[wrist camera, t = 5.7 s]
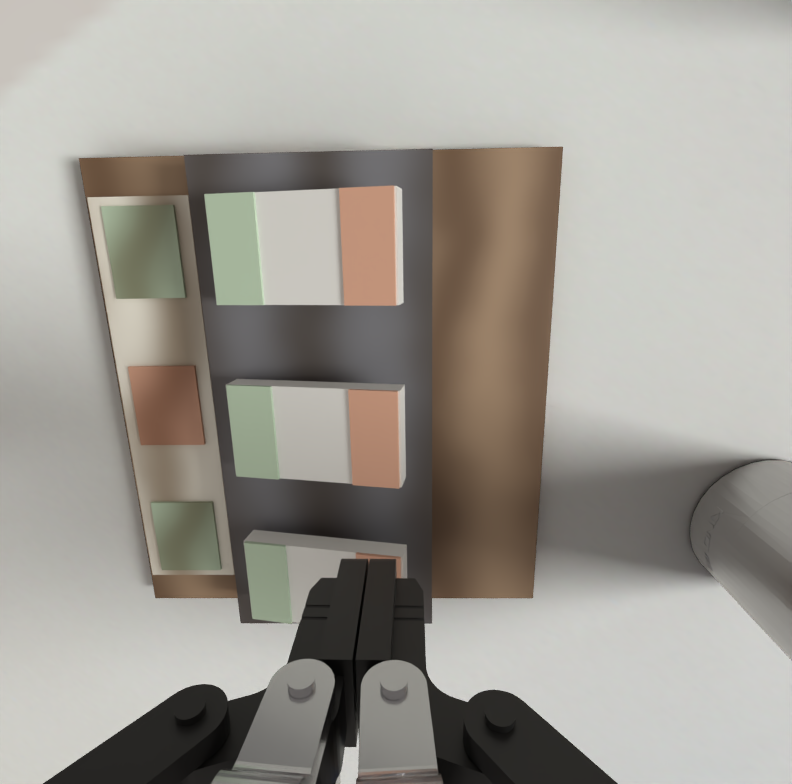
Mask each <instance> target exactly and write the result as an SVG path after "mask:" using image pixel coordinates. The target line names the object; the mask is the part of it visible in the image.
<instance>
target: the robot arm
mask: <svg viewBox="0 0 792 784" xmlns="http://www.w3.org/2000/svg"><path fill="white" fill-rule="evenodd" d="M690 539H691V543H692V548H693V551H694V553H695V555H696V556H697V558H698V560H699V561H700V562H701V564H702V565H703V566H704V567H705V568H706V569H707V570H708V571H709V572H710V573H711V574H712V576H713V577H714V578H715V579H716V580H717V581H718V582H719V583H720V584H721V585H722V586H723V587H724V588H725V590H726V591H727V592H728V593H729V594H730V595H731V596H732V597H733V598H734V599H735V600H736V601H737V603H738V604H739V605H740V606H741V607H742V608H743V609H744V610H745V611H746V612H747V613H748V614H749V616H750V617H751V618H752V619H753V620H754V621H755V622H756V623H757V624H758V625H759V626H760V627H761V628H762V629H763V630H764V632H765V633H766V634H767V635H768V636H769V637H770V638H771V639H772V640H773V641H774V642H775V643H776V644H777V645H778V646H779V648H780V649H781V650H782V651H783V652H784V653H785V654H786V655H787V656H788V657H789V658H790V659H791V660H792V462H788V461H783V460H766V461H761V462H755V463H751V464H748V465H745V466H743V467H740V468H737V469H735V470H733V471H732V472H730V473H728V474H727V475H725V476H723V477H722V478H721V479H719V480H718V481H717V482H716V483H715V484H714V485H712V486H711V487H710V488H709V490H708V491H707V492H706V493H705V494H704V496H703V497H702V498H701V500H700V502H699V503H698V505H697V507H696V509H695V511H694V514H693V518H692V521H691V528H690ZM358 729H359V765H358V778H357V780H356V784H617V783H616V782H615V781H614V780H613V779H612V778H611V777H609V776H608V775H607V774H606V773H605V772H604V771H603V770H601V769H600V768H599V767H598V766H597V765H596V764H595V763H593V762H592V761H591V760H590V759H589V758H588V757H587V756H585V755H584V754H583V753H582V752H581V751H580V750H579V749H577V748H576V747H575V746H574V745H573V744H572V743H571V742H569V741H568V740H567V739H566V738H565V737H564V736H562V735H561V734H560V733H559V732H558V731H557V730H556V729H554V728H553V727H552V726H551V725H550V724H549V723H548V722H546V721H545V720H544V719H543V718H542V717H541V716H540V715H538V714H537V713H536V712H535V711H534V710H533V709H532V708H530V707H529V706H528V705H527V704H526V703H525V702H524V701H522V700H521V699H520V698H518V697H517V696H515V695H513V694H510V693H508V692H505V691H500V690H488V691H483V692H480V693H478V694H476V695H475V696H473V697H472V698H471V699H470V700H469V701H468V702H465V701H462V700H459V699H456V698H453V697H450V696H448V695H446V694H445V693H443V692H441V691H440V690H439V689H438V688H437V687H436V686H435V685H434V684H433V683H432V682H431V680H430V678H429V677H428V674H427V671H426V656H425V626H424V595H423V590H422V588H421V587H420V585H419V584H418V582H417V580H416V579H415V578H397V571H396V559H370V560H369V561H368V559H341V562H340V566H339V570H338V574H337V578H320V580H319V581H318V582H317V583H316V584H315V585H314V586H313V587H312V588H311V589H310V591H309V594H308V597H307V601H306V604H305V608H304V611H303V614H302V619H301V620H300V624H299V627H298V630H297V633H296V637H295V640H294V643H293V646H292V650H291V653H290V656H289V660H288V663H287V664H286V665H285V666H283V667H282V668H280V669H279V670H278V671H277V672H276V673H275V674H274V676H273V677H272V679H271V680H270V682H269V685H268V687H267V688H266V689H264V690H262V691H260V692H258V693H255V694H252V695H249V696H245V697H241V698H238V699H234V700H230V701H227V697H226V694H225V693H224V692H223V690H221V689H220V688H218V687H216V686H213V685H208V684H201V685H195V686H191V687H188V688H185V689H183V690H181V691H179V692H177V693H176V694H174V695H172V696H171V697H169V698H168V699H167V700H165V701H164V702H162V703H161V704H159V705H158V706H156V707H155V708H153V709H152V710H150V711H149V712H147V713H146V714H145V715H143V716H142V717H140V718H139V719H137V720H136V721H134V722H133V723H131V724H130V725H128V726H127V727H125V728H124V729H123V730H121V731H120V732H118V733H117V734H115V735H114V736H112V737H111V738H109V739H108V740H106V741H105V742H103V743H102V744H101V745H99V746H98V747H96V748H95V749H93V750H92V751H90V752H89V753H87V754H86V755H84V756H83V757H81V758H80V759H78V760H77V761H76V762H74V763H73V764H71V765H70V766H68V767H67V768H65V769H64V770H62V771H61V772H59V773H58V774H56V775H55V776H54V777H52V778H51V779H49V780H48V781H46V782H45V783H43V784H340V772H341V768H342V763H343V755H344V748H345V747H356V744H357V735H358Z"/></svg>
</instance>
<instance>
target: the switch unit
mask: <svg viewBox="0 0 792 784" xmlns="http://www.w3.org/2000/svg"><path fill="white" fill-rule="evenodd" d="M562 153H563V147H532V148H490V149H448V150H433V149H412V150H370V151H328V152H287V153H245V154H203V155H184V156H156V157H114V158H79V162H80V168H81V174H82V179H83V185H84V191H85V196H86V202H87V208H88V214H89V219H90V225H91V231H92V237H93V242H94V248H95V254H96V259H97V265H98V271H99V277H100V282H101V288H102V294H103V300H104V305H105V311H106V317H107V323H108V328H109V334H110V340H111V345H112V351H113V357H114V363H115V368H116V374H117V380H118V386H119V391H120V397H121V403H122V408H123V414H124V420H125V426H126V431H127V437H128V443H129V449H130V454H131V460H132V466H133V472H134V477H135V483H136V489H137V494H138V500H139V506H140V512H141V517H142V523H143V529H144V535H145V540H146V546H147V552H148V558H149V563H150V569H151V575H152V580H153V586H154V592H155V598H238V604H239V612H240V621H241V623H280V622H273V621H265V620H258V619H253V618H252V611H251V602H250V593H249V585H248V576H247V567H246V558H245V550H244V540H245V539H246V538H247V537H248V535H249V534H250V533H251V532H252V531H253V530H262V531H272V532H282V533H293V534H303V535H313V536H324V537H334V538H344V539H354V540H365V541H375V542H385V543H395V544H406V545H407V578H415V579H416V580H417V582H418V584H419V585H420V587H421V588H422V590H423V595H424V623H432V598H533V588H534V573H535V558H536V543H537V528H538V513H539V498H540V483H541V468H542V453H543V438H544V423H545V408H546V393H547V378H548V363H549V348H550V333H551V318H552V303H553V288H554V273H555V258H556V243H557V228H558V213H559V198H560V183H561V168H562ZM393 185H394V186H398V187H399V188H401V189H402V224H403V298H404V303H402V304H400V305H396V306H344V305H217V303H216V294H215V285H214V276H213V268H212V259H211V250H210V241H209V233H208V224H207V215H206V206H205V197H204V194H217V193H239V192H271V191H293V190H315V189H337V188H349V187H371V186H393ZM236 379H259V380H288V381H317V382H347V383H376V384H405V445H406V478H405V481H404V483H403V485H402V487H400V488H399V489H396V488H383V487H370V486H357V485H352V484H348V483H335V482H322V481H308V480H295V479H282V478H280V479H279V480H277V479H264V478H251V477H237V476H236V471H235V462H234V453H233V444H232V436H231V427H230V418H229V409H228V401H227V392H226V384H228V383H230V382H232V381H234V380H236ZM292 623H295V622H292Z"/></svg>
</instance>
